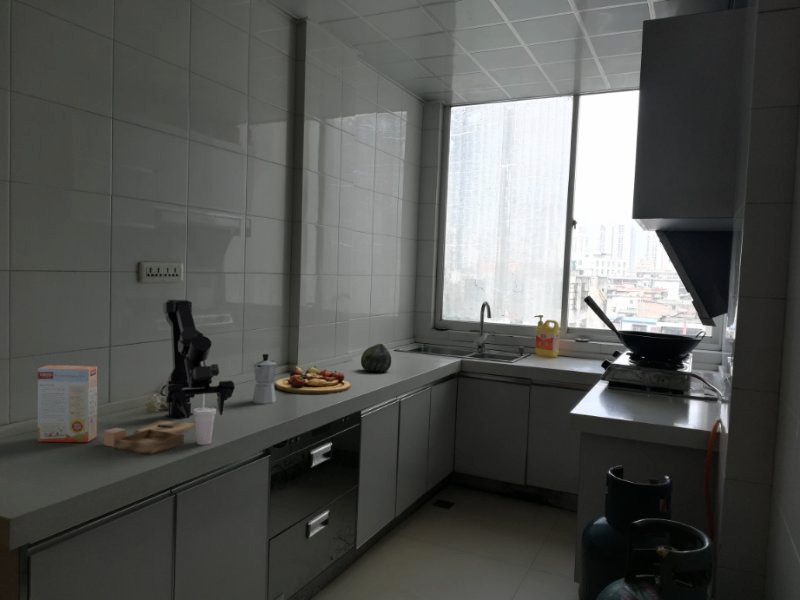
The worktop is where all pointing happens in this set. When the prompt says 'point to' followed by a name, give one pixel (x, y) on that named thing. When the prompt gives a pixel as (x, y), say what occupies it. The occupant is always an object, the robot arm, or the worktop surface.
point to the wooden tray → (149, 441)
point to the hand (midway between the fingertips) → (205, 415)
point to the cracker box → (67, 403)
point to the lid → (168, 426)
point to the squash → (376, 358)
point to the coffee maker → (264, 381)
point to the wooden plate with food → (313, 382)
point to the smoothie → (204, 423)
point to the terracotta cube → (113, 436)
